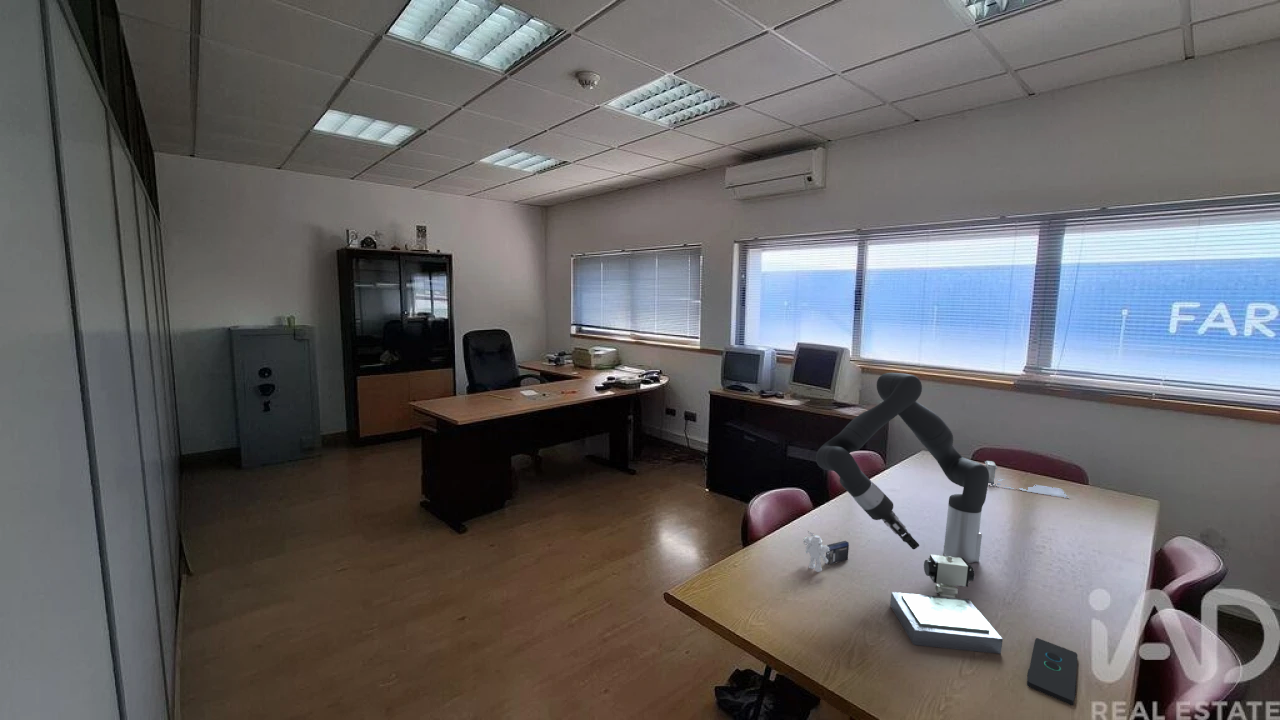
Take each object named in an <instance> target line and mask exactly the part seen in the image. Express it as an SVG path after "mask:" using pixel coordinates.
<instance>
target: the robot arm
mask: <svg viewBox="0 0 1280 720" xmlns="http://www.w3.org/2000/svg"><path fill="white" fill-rule="evenodd" d="M876 390H877V393H878V395H879V397H880V398H881V400H883V401H882V402H880V403H878V404H877V405H875V406H873V407H872V408H869V409H867V410H865V411H864V412H862V413H860V414H858V415H857V416H855V417H854V418H853V419H851V421H850V422H849V423H848V424H847V425H846V426H845V427H844V428H843V429H842V430H841V431H840V432H839V433H838V434H836V435H835V436H833V437H832V438H831V439H829V440H827V441H826V442H825V443H824V444H823V445H821V446H820V447H819V448H818V450H817V452H816V455H815V461H816V464H817V466H818V467H819V468H820V469H822V470H824V471H825V470H826V471H831V472H835V473H836V475H838V477H839V482H840V485H841V486H842V487H843V488H844V490H845V491H847V493H849V495H851V497H852V498H853V499H854V501H855V502H856V504H858V506H860V507H861V509H863V511H864V512H865V513H866V514H867V515H868V516H869V517H870V518H871V519H872V520H874V521H880V520H882V522H883V524H885V525H886V526H887V527H889V528H890V530H892V532H893V533H894V534H895V535H897V536H898V537H899V538H900V539H901V540H902V541H903V542H904V543H905V544H907V545H908V546H909V547H910V548H911V549H912V550H916V549H917V548H918V547H920V544H919V542H917V540H916V539H915V538H914V537H913V535H912V534H911V533H910V532H909V531H908V530H907V529H906V528H907V527H906V526H905V524H903V522H902V521H901V520H900V518H899V516H898V515H897V514H896V513H895V512H894V510H893V509H894V502H893V501H892V500H891V499H890V498H889V497H888V496H887V495H886V494H885V493H884V491H882V489H881V488H879V486H878V485H877V484H876V483H874V482H873V481H872V480H871V479H870V478H869V477H868V476H867V475H866V474H865V473H864V472H863V471H862V470H861V468H860V467H859V465H858V463H857V461H856V459H855V458H854V457H853V455H852V454H851V453H854V452H857V451H859V450H860V449H862V447H864V446H865V444H866V443H867V442H868V441H869V440H870V439H871V438H872V437H873V436H874V435H876V433H877V432H878V431H879V430H881V428H883V427H884V426H885V425H886V424H887V423H889V422H890V421H892V420H893V419H894V418H895V417H897V416H899V417H900V419H902V421H903V422H904V423H905V424H906V427H908V428H909V429H910V430H911V431H912V433H913V434H914V435H915V437H916V438H917V439H918V440H919V442H920V443H921V444H922V446H923V447H925V448H926V450H927V451H928V452H929V454H930V455H931V456H932V457H933V458H934V460H935V461H936V462H937V463H938V465H939V466H940V469H941V470H942V471H943V473H944V475H945V477H946V478H947V479H948V480H949V482H952V483H953V484H955V485H957V486H959V487H962V488H963V489H962V493H955V494H951V495H950V496H949V498H948V503H947V517H946V525H945V533H944V545H943V555H944V556H947V555H948V556H951V557H957V558H964V560H965V561H966V562H967V563H968V564H972V563H976V562H977V563H979V561H980V556H981V548H982V547H981V545H982V537H983V534H982V533H981V532H980V529H981V527H980V526H981V519H982V511H983V506H984V504H985V502H986V497H987V493H988V487H989V486H988V483H989V471H988V469H987V467H986V465H984V464H982V463H980V462H977V461H974V460H972V459H968V458H966V457H965V456H962V455H961V454H960V453H959V451H957V450H956V449H955V448H954V446H953V445H954V435H953V432H952V431H951V428H950V427H949V426H948V425H947V424H946V422H945V421H944V420H943V419H942V417H940V415H938V414H936V413H935V412H934V411H933V410H930V409H929V408H928V407H926V406H925V405H923V404H922V403H920V402H918V401H917V400H918V399H919V398H920V396H921V394H922V392H923V385H922V382H921V380H920V378H918V376H916V375H914V374H910V373H909V374H908V373H903V372H899V373H898V372H886V373H883V374H882V375H879V377H878V379H877V381H876Z"/></svg>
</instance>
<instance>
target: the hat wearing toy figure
mask: <svg viewBox="0 0 1280 720" xmlns="http://www.w3.org/2000/svg"><path fill="white" fill-rule="evenodd" d="M807 533H808V535H810V536H805V538H803V544H804V546H805V554H809V555H810V561H809V563H808V568H809V569H810V570H814V571H815V572H817V573H820V572H822V571H823V567H822V561H823V562H824V563H825V564H827V563H828V559H827V558H826V554H825V553H826V552H829V551H830V550H829V549H830V548H829V547H827V545H829V544H825V545H824V544H823V539H822V538H821V536H820V535H814V534H815V533H814V532H812V531H810V530H807ZM829 553H830V552H829ZM829 553H827V554H829ZM821 558H822V561H821ZM815 563H816V564H815Z"/></svg>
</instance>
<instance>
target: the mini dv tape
mask: <svg viewBox="0 0 1280 720" xmlns="http://www.w3.org/2000/svg"><path fill="white" fill-rule="evenodd" d="M826 545H827V544H826ZM849 546H850V544H849V541H847V540H843V541H838V542H834V543H831V544H828V545H827V547H829V548H830V549H829V550H830V551H829V552H830V553H829V552H825V557H826V558H827V559H828V563H826V564H827V565H829V564H830V565H833V564H837V563H841V562H845V561H848V560H849V549H850V548H849ZM827 553H829V554H827ZM836 562H837V563H836Z"/></svg>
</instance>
